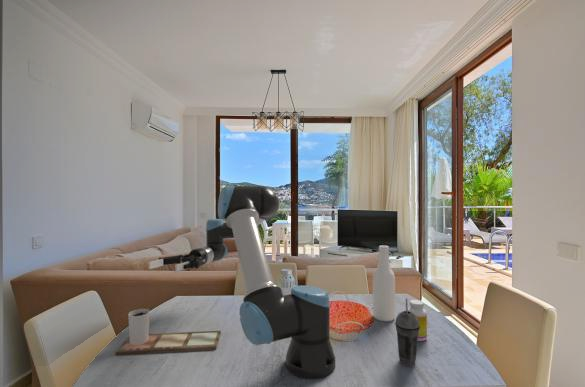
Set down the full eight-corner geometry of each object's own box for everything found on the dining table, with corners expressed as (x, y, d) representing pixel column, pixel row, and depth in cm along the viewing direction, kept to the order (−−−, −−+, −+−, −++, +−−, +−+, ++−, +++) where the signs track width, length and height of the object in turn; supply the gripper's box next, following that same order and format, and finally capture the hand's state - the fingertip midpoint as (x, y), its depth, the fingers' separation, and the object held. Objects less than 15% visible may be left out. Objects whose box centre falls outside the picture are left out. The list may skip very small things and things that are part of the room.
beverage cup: (422, 360, 97) (422, 296, 97) (417, 371, 91) (417, 303, 91) (398, 353, 101) (398, 292, 101) (392, 364, 95) (392, 298, 95)
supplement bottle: (429, 337, 112) (429, 301, 112) (422, 343, 107) (422, 306, 107) (411, 331, 117) (411, 297, 116) (403, 337, 112) (404, 302, 112)
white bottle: (399, 318, 128) (399, 246, 128) (385, 324, 123) (385, 248, 123) (382, 312, 135) (382, 243, 135) (368, 316, 130) (368, 245, 130)
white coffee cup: (129, 338, 109) (129, 310, 109) (150, 335, 112) (149, 307, 112) (127, 347, 103) (127, 317, 103) (149, 343, 106) (149, 314, 105)
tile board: (216, 349, 104) (216, 346, 104) (115, 355, 100) (115, 351, 100) (220, 333, 116) (220, 330, 116) (130, 337, 112) (130, 334, 112)
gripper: (224, 267, 130) (188, 280, 111) (179, 263, 140) (138, 274, 121) (224, 249, 130) (187, 259, 111) (178, 246, 140) (138, 254, 121)
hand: (162, 267), depth 116 cm, fingers open, 13 cm apart
